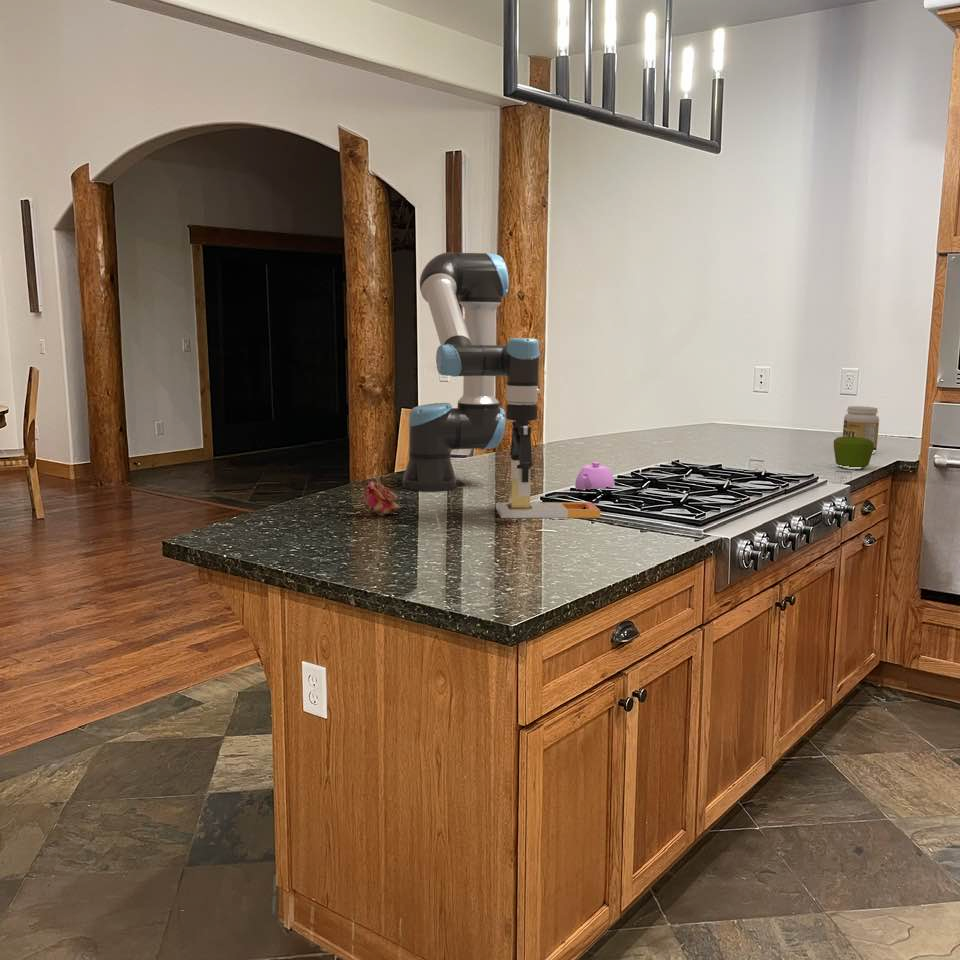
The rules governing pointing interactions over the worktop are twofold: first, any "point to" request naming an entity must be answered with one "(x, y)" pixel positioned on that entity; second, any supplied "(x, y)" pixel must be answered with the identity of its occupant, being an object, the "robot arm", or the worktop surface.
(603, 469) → the teapot
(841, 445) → the apple
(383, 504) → the flower
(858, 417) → the supplement tub
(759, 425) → the worktop surface
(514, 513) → the rail
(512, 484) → the brass nut block
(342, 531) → the worktop surface
